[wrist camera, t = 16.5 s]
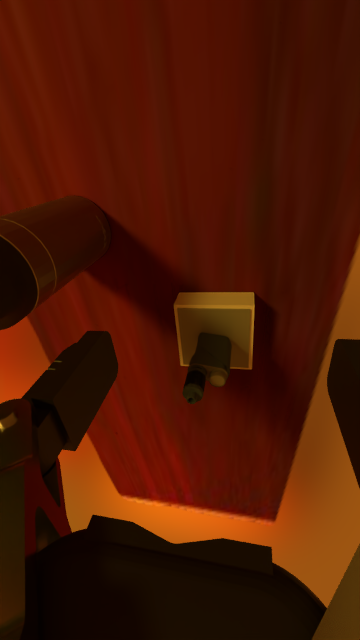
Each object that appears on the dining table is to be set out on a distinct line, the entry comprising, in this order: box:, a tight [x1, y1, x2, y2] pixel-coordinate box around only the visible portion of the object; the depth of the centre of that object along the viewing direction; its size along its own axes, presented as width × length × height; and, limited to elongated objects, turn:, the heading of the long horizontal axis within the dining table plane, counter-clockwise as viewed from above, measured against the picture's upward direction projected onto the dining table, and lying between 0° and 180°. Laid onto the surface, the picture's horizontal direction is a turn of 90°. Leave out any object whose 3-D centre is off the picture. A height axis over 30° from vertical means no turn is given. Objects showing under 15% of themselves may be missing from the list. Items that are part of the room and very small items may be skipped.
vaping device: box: [183, 332, 232, 404], centre depth 37 cm, size 3×5×12 cm, turn 85°
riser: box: [174, 292, 255, 370], centre depth 43 cm, size 11×11×4 cm
